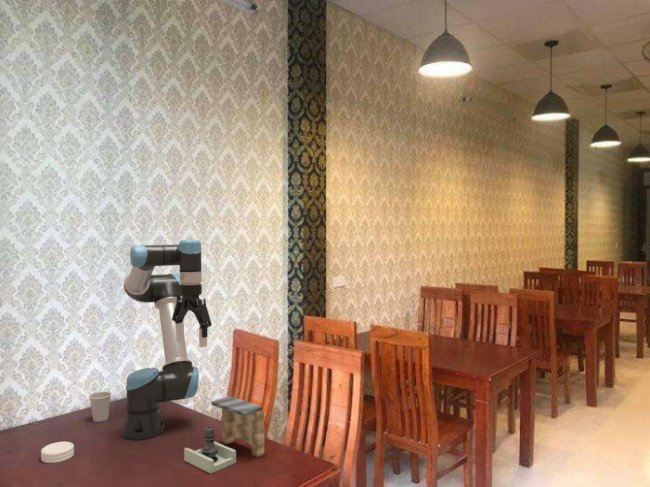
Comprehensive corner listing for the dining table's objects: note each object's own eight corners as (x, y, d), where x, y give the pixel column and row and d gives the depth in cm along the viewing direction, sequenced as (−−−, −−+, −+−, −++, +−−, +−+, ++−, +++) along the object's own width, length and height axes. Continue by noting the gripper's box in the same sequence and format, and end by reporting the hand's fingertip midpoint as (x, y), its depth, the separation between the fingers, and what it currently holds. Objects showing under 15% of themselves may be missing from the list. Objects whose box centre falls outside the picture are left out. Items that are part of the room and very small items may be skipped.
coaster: (80, 454, 177) (80, 444, 177) (52, 466, 169) (52, 455, 169) (62, 448, 182) (62, 438, 182) (34, 459, 174) (34, 449, 174)
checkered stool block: (211, 446, 183) (210, 401, 183) (228, 439, 189) (228, 395, 189) (246, 461, 171) (245, 413, 170) (264, 453, 177) (263, 407, 176)
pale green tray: (184, 460, 172) (184, 448, 172) (209, 450, 180) (209, 439, 180) (210, 473, 163) (210, 461, 162) (236, 462, 170) (236, 450, 170)
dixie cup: (84, 421, 208) (84, 397, 207) (99, 414, 216) (99, 390, 215) (102, 423, 205) (101, 398, 205) (116, 416, 213) (115, 392, 213)
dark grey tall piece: (214, 464, 168) (214, 427, 167) (197, 462, 169) (197, 426, 168) (221, 456, 173) (221, 421, 173) (205, 455, 175) (204, 420, 174)
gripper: (161, 282, 186) (162, 340, 187) (203, 287, 170) (204, 351, 171) (179, 280, 192) (180, 337, 192) (221, 285, 176) (222, 347, 176)
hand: (191, 344), depth 182 cm, fingers open, 13 cm apart
